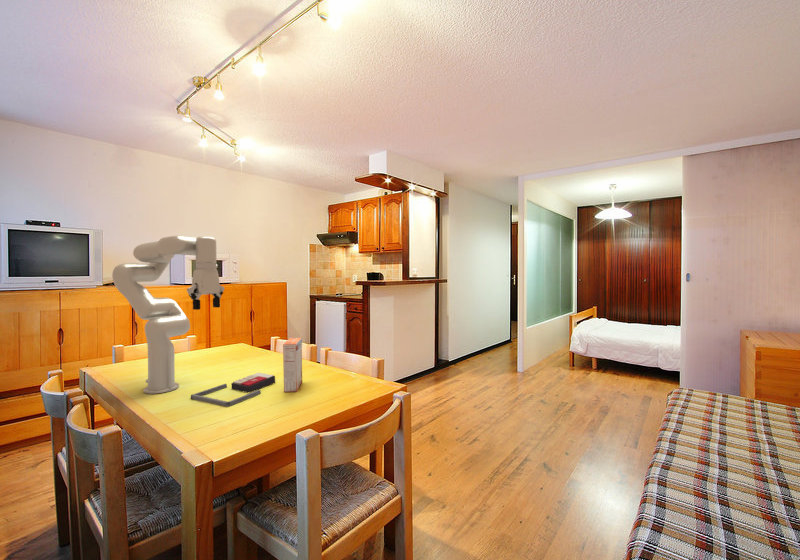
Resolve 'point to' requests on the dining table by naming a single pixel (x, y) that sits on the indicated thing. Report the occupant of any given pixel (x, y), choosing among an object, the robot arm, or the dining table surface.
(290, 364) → the cracker box
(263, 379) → the black flat box
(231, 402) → the frame
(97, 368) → the dining table surface
